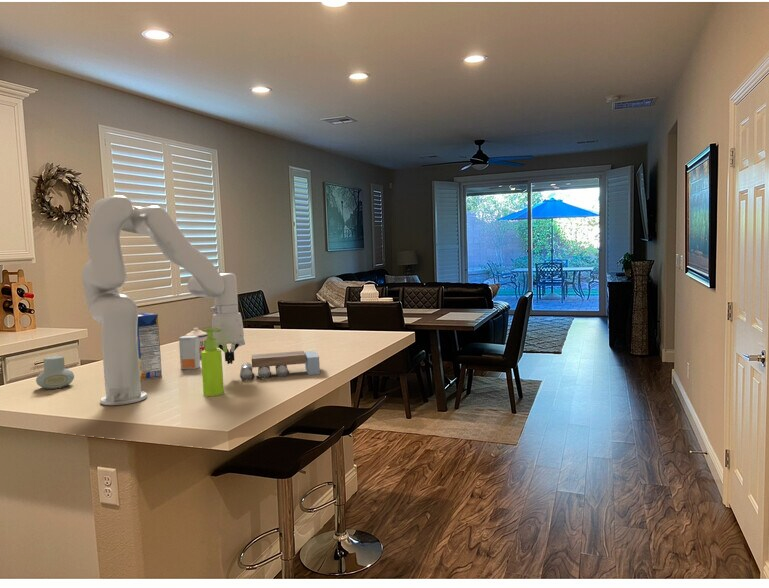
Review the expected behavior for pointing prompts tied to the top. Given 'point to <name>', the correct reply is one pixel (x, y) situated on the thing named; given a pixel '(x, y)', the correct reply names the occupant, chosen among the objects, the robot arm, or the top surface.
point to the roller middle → (264, 372)
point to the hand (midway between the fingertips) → (230, 363)
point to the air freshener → (54, 374)
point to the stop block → (312, 363)
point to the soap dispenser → (212, 366)
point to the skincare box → (189, 352)
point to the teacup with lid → (201, 336)
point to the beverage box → (148, 346)
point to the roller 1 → (246, 371)
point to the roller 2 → (281, 370)
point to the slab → (278, 359)
